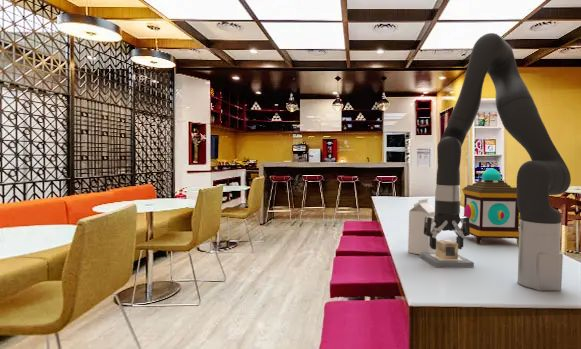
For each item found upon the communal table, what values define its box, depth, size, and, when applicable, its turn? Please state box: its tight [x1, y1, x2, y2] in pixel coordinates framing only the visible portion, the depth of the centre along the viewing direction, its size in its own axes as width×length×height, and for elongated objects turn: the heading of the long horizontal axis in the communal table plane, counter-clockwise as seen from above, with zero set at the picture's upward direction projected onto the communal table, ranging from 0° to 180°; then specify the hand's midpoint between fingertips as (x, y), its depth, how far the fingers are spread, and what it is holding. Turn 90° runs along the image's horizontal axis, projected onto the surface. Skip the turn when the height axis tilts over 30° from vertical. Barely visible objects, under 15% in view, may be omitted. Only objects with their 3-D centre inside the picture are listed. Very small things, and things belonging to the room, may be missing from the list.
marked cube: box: [435, 239, 459, 259], centre depth 123 cm, size 5×5×5 cm
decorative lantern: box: [459, 167, 520, 246], centre depth 157 cm, size 20×20×30 cm
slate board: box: [419, 252, 475, 268], centre depth 124 cm, size 12×12×2 cm
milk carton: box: [407, 198, 437, 256], centre depth 135 cm, size 7×7×19 cm
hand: (446, 248), depth 123 cm, fingers open, 8 cm apart
